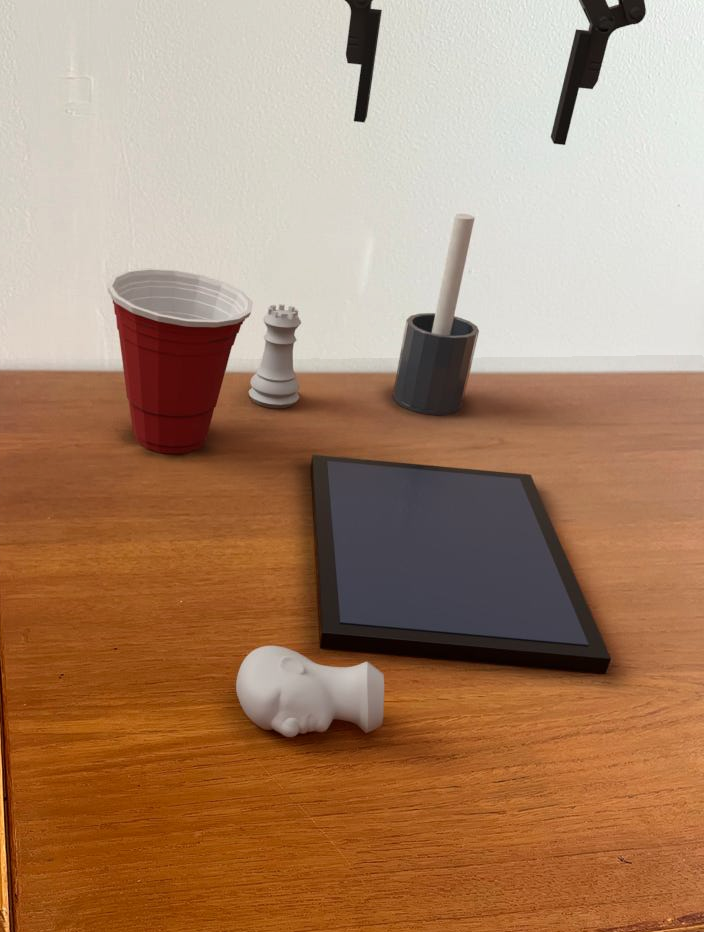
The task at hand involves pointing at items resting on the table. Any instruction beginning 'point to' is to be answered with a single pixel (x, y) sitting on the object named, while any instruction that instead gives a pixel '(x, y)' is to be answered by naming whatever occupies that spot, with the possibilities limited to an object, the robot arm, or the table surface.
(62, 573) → the table surface
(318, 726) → the white mannequin head
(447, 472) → the tablet
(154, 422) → the plastic cup
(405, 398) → the pen pot
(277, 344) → the rook chess piece
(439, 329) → the stylus
